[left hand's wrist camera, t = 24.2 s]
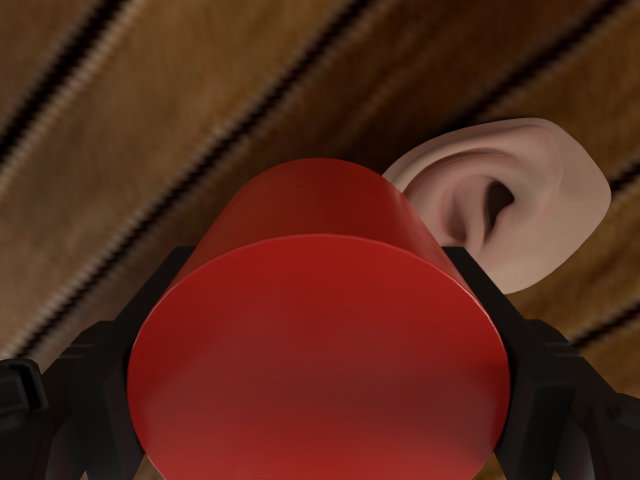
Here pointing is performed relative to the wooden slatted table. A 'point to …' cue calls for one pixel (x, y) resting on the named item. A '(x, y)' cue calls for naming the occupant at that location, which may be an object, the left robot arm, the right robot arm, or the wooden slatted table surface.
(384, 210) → the can
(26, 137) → the wooden slatted table surface
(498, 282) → the anatomical model
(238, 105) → the wooden slatted table surface
